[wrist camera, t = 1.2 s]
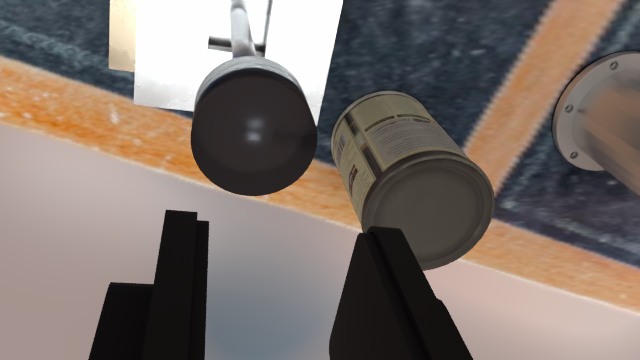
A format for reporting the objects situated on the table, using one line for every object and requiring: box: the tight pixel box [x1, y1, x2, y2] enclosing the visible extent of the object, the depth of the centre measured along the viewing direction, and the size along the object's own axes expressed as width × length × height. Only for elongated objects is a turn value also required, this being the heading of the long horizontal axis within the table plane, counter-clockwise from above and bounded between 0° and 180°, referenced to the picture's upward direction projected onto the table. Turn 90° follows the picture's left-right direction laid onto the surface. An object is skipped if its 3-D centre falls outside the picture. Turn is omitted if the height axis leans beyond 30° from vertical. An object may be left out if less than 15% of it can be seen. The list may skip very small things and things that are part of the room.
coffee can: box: [331, 91, 494, 271], centre depth 47 cm, size 10×10×14 cm
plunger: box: [191, 0, 317, 196], centre depth 23 cm, size 7×7×16 cm
